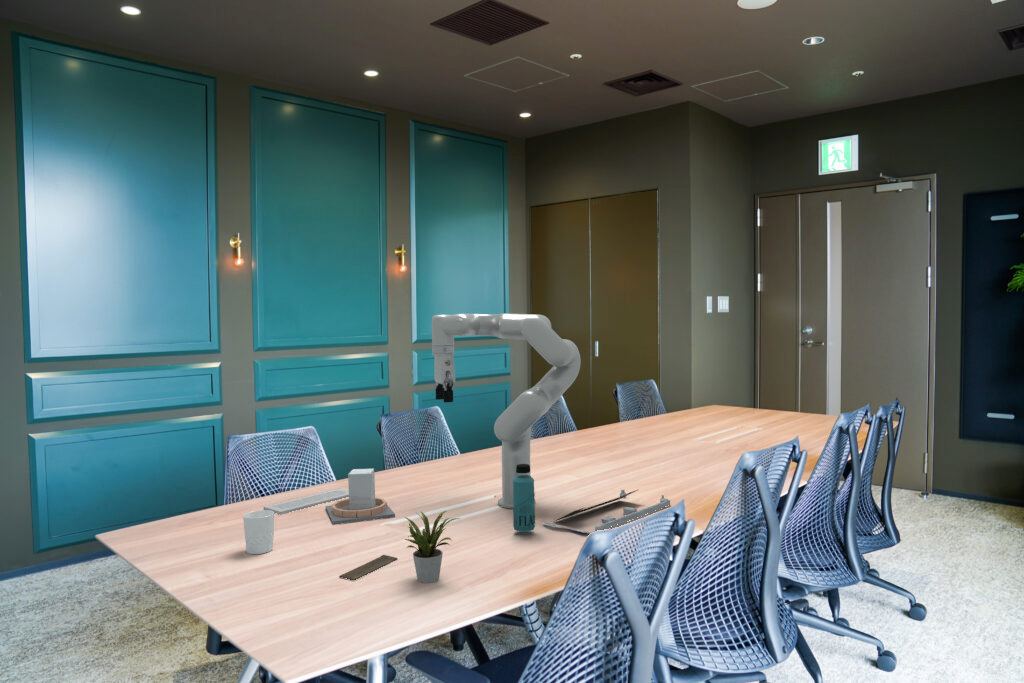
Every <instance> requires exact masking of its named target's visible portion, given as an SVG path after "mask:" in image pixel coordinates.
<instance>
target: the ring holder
mask: <svg viewBox="0 0 1024 683" xmlns="http://www.w3.org/2000/svg"><path fill="white" fill-rule="evenodd" d="M375 505H376V506H375V507H374V508H371V509H364V510H349V498H344V499H340V500H336V501H334V503H332V504H331V505H326V506H325V510H327V511H326V513H327V512H328V513H327V514H329V515H328V517H329V516H330V517H329V519H330V518H331V519H330V521H331V520H332V521H331V523H332V525H333V524H335V525H342V524H341V523H343V524H348V523H347V522H351V523H357V522H356V521H359V522H365V521H364V520H367V521H374V520H373V519H375V520H382V519H381V518H383V519H390V517H391V518H396V513H395V512H394V511H393V509H391V507H390V506H389V505H388V502H387V501H386V500H385V499H384V498H380V497H377V496H375Z"/></svg>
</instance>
